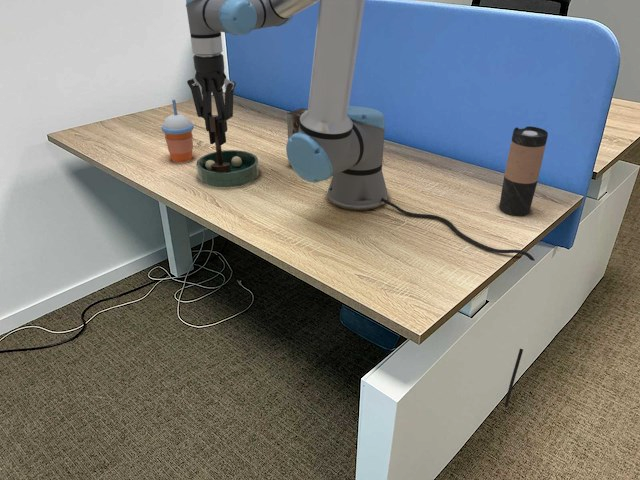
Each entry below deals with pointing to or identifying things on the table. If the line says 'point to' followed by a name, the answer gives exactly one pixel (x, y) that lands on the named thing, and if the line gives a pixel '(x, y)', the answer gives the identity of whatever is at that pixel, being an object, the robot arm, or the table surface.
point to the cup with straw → (178, 136)
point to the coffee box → (294, 121)
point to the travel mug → (522, 170)
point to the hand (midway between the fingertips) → (218, 142)
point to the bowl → (237, 175)
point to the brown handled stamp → (218, 148)
